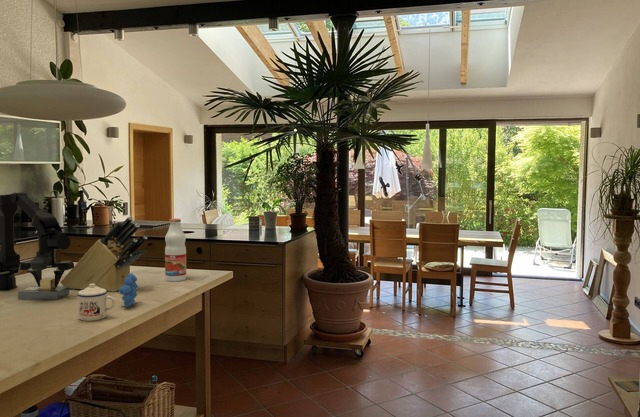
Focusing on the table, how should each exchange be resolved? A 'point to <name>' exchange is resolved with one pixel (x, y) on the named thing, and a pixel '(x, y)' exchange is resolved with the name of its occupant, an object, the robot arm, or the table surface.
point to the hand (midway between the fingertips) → (48, 286)
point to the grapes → (129, 290)
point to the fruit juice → (175, 252)
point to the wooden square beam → (47, 284)
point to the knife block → (107, 259)
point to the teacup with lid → (93, 303)
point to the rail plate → (43, 293)
